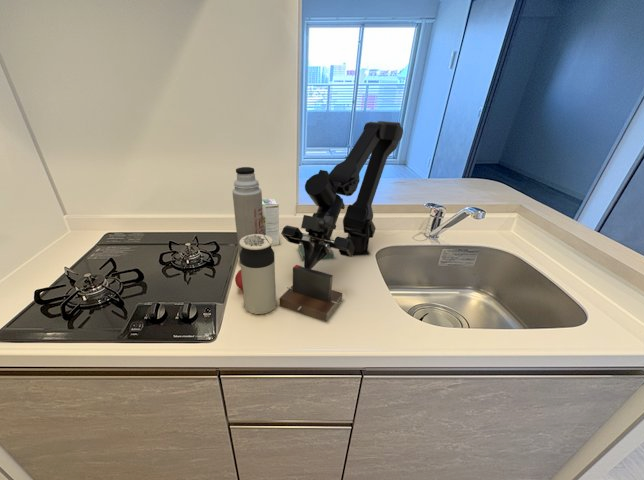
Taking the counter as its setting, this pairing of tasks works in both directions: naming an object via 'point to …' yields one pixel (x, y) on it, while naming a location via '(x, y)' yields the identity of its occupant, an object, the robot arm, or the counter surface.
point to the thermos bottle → (247, 204)
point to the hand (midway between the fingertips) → (306, 271)
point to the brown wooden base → (310, 304)
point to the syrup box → (271, 219)
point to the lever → (312, 283)
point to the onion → (239, 280)
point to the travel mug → (258, 273)
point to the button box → (301, 250)
